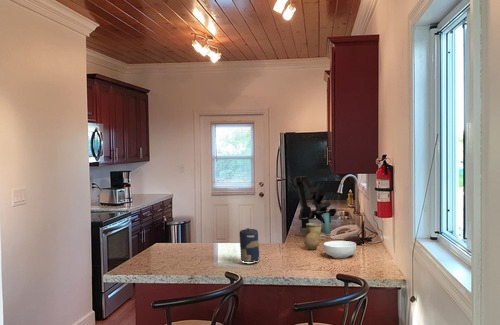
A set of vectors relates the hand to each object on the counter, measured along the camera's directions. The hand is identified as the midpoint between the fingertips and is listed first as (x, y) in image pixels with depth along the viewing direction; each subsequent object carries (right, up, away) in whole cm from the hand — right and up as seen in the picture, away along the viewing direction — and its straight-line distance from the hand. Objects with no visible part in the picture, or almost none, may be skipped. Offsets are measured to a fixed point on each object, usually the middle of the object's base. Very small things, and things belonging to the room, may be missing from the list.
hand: (327, 222), depth 292 cm
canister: (-52, -11, -71) cm, 88 cm away
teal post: (0, -8, +1) cm, 8 cm away
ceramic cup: (-11, -8, -15) cm, 20 cm away
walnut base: (-14, -8, +3) cm, 17 cm away
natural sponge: (-17, -9, -47) cm, 51 cm away
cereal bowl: (-6, -8, -68) cm, 69 cm away
